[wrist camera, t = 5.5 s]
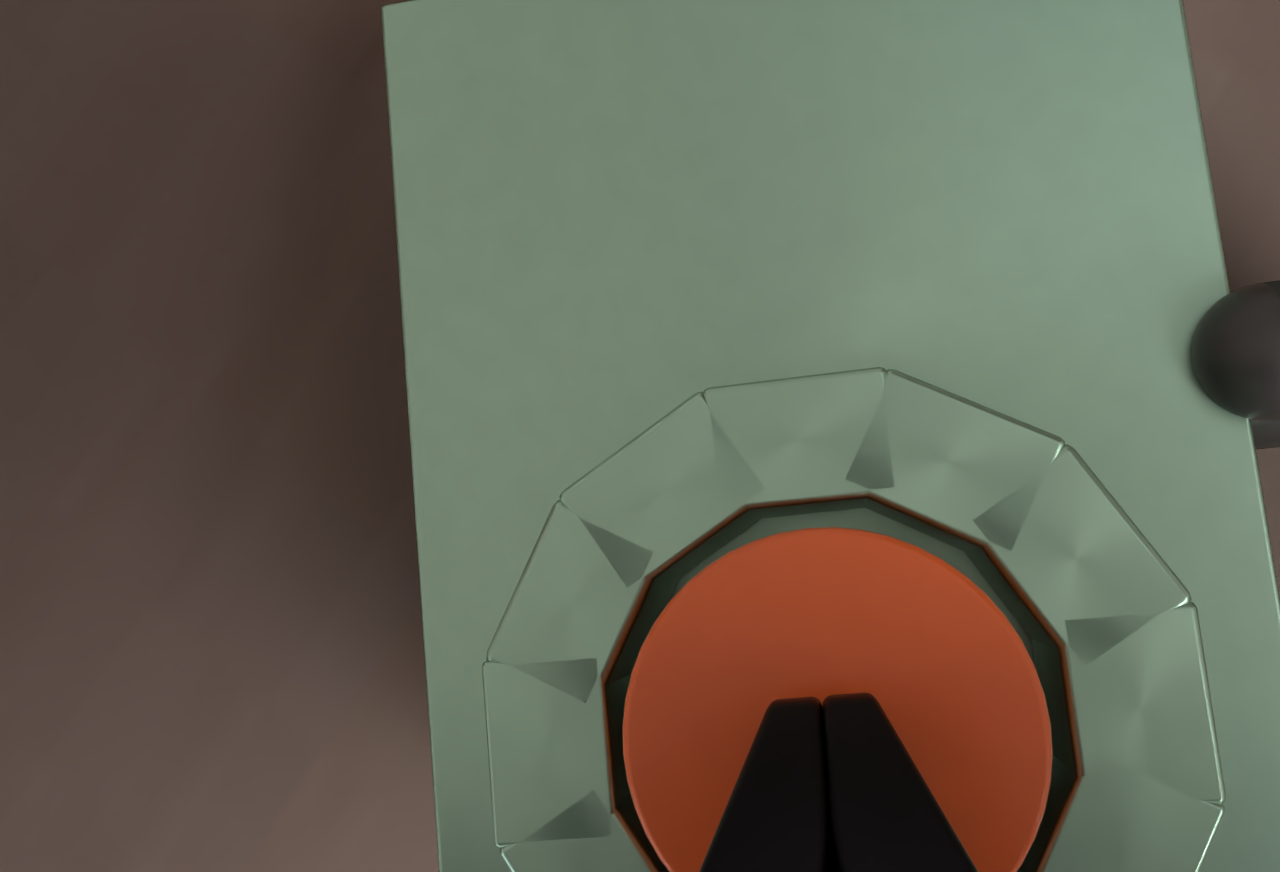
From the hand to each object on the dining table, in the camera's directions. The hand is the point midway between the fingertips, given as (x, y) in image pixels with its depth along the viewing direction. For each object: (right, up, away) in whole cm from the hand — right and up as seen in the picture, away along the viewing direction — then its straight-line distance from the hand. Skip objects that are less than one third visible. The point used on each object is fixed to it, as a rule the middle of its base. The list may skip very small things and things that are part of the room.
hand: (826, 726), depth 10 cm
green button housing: (+1, +2, +9) cm, 9 cm away
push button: (0, 0, +2) cm, 2 cm away
